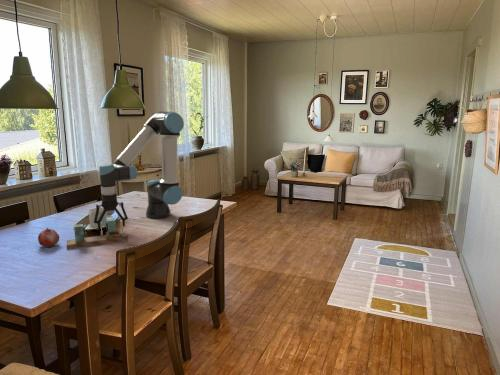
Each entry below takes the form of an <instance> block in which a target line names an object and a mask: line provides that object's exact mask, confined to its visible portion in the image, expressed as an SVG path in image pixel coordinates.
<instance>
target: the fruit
mask: <svg viewBox="0 0 500 375" xmlns="http://www.w3.org/2000/svg"><path fill="white" fill-rule="evenodd" d="M37 241H38V243H39V245H40V246H43V247H45V248H51V247H53V246H55V245H56V244H58V242H59V241H60V235H59V234H58V232H57V231H56V230H54V229H51V228H48V227H46V229H44V230H42V231H41V232H39V234H38V236H37Z"/></svg>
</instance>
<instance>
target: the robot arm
mask: <svg viewBox="0 0 500 375" xmlns="http://www.w3.org/2000/svg"><path fill="white" fill-rule="evenodd" d="M184 122H185V121H184V119H183V117H182V116H181V115H180V114H179V112H176V111H158V112H156V113H153V114H152V115H151V117H150V118H148V120H147V121H146V122H145V123H144V124H143V125H142V126H143V128H142V129H140V131H139V132H138V134H136V136H135V137H134V138H133V139H132V140H131V142H130V143H128V145H127V146H125V148H124V150H122V152H121V153H120V154H119V155H118V156H117V158H115V160H114V161H113V162H109V163H105V164H101V165H100V166H99V167H98V168H99V170H98V172H99V182H100V193H101V203H100V204H98V203H97V204H95V208H96V213H95V218H94V223H97V224H98V229H101V231H100V236H102V235H103V234H104V233H103V230H102V223H101V221H102V219H103V217H104V215H105V213H107V212H111V211H112V212H113V211H114V212H115V213H116V214H117V216H118V217H119V218H120V220H119V221H120V232H121V233H124V227H125V225H126V224H125V223H126V220H128V219H129V218H128V215H127V212H126V209H125V207H124V202H123V201H119V202H118V194H117V184H116V183H117V182H121V181H129V180H130V181H131V180H135V179H137V177H138V169H137V167H136V166H135V165H130V164H132V162H133V161H134V160H135V159H136V158H137V156H138V155H139V154H140V153H141V152H142V151H143V150H144V149H145V147H146V146H147V145H148V144H149V142H150V141H151V140H152V139H153V138H154V137H157V136H158V135H159V136H160V137H161V138H162V139H161V178H158V179H157V178H156V179H151V180H148V181H147V184H146V190H147V202H148V203H147V208H146V211H145V217H147V218H149V219H158V220H159V219H164V218H168V217H171V213H172V212H171V210H170V209H171V208H170V206H169V205H173V206H174V205H176V204H178V203H179V202H180V201H181V200H182V198H183V190H182V188H181V187H180V180H178V178H177V176H178V175H177V174H178V172H177V171H178V138H179V137H180V136H181V132H182V130H183V129H184V125H185V123H184ZM118 206H119V207H120V208H121V210H122V214H123V215H122V214H121V212H120V211H119V209H118V208H117V207H118ZM100 208H104V209H103V212H102V214H101V216H100V218H99V220H98V221H97V218H98V213H99V209H100Z"/></svg>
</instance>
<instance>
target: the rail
mask: <svg viewBox="0 0 500 375" xmlns="http://www.w3.org/2000/svg"><path fill="white" fill-rule="evenodd" d="M85 229H86V228H85V225H84V224H83V223H79V224H73V230H74V239H68V240H66V249H67V250H68V249H75V248H76V249H77V248H82V247H89V246H94V245H95V246H97V245H103V244H104V245H105V244H110V243H116V242H117V243H119V242H124V241H128V236H127V234H126V232H123V233H122V232H121V229H120V230H116V231H112V232H107V231H106V232H105V234H104V235H102V236H101V235H98V236H97V235H96V236H89V237H86V231H85Z"/></svg>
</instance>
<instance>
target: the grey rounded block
mask: <svg viewBox="0 0 500 375" xmlns="http://www.w3.org/2000/svg"><path fill="white" fill-rule="evenodd" d="M103 209H104V208H103V207H100V209H99V213H98V218H97V221H98V220H99V218H100V216H101V214H102V212H103ZM95 213H96V207H95V208H94V207H93V208H91V209H89V210H88V218H89V228H90V227H91V228H98V224H97V223H94V218H95ZM107 219H108V215H107V212H106V213H105V215H104V217H103V219H102V221H101V223H102V227H103V226H106V221H107ZM91 228H90V229H91Z"/></svg>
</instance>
